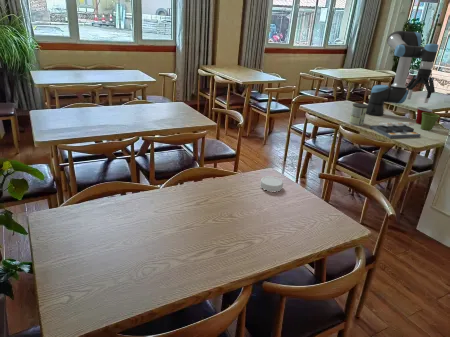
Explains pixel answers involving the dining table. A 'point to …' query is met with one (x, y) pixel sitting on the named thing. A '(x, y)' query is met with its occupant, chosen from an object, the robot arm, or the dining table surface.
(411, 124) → the switch
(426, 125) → the plant pot
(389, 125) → the switch
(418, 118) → the plastic cup
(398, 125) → the switch middle
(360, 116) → the coffee can
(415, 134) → the switch panel
